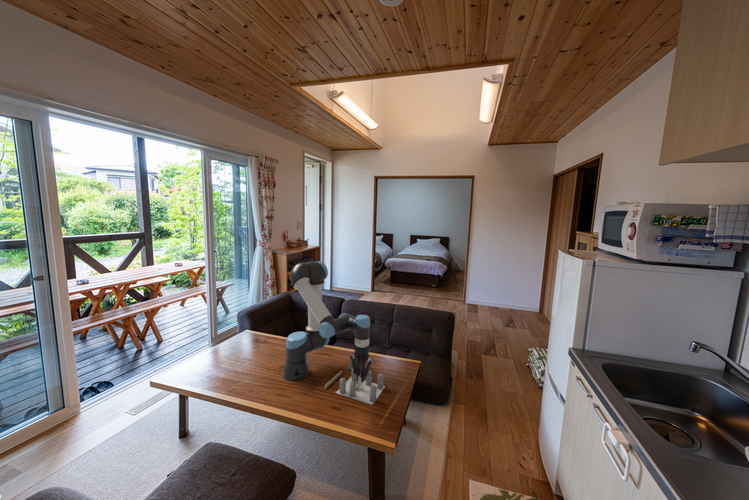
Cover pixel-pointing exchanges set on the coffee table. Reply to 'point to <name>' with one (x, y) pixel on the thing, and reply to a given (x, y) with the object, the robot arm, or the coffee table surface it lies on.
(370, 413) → the coffee table surface
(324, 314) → the robot arm
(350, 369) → the stone
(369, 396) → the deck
